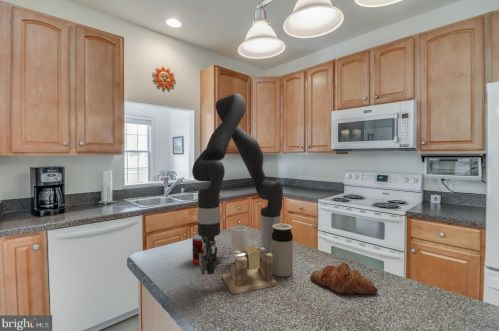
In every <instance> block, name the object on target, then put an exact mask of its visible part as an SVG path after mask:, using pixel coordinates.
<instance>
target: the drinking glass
mask: <svg viewBox="0 0 499 331" xmlns="http://www.w3.org/2000/svg"><path fill="white" fill-rule="evenodd" d="M230 243H231V252H232V251H240V252H241V253H243V247H248V227H247V226H242V225H238V226H237V225H236V226H233V227H231V228H230Z"/></svg>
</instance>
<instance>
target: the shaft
mask: <svg viewBox="0 0 499 331" xmlns="http://www.w3.org/2000/svg"><path fill="white" fill-rule="evenodd" d="M259 251H260V259H265V251H264V250H259ZM240 257H246V258H247V261H248V254H247V253H246V252H245V253H238V254H231V255H230V254H226V255H218V256H217V257H216V263H214V270H216V269H217V267H220V266H226V265H227V266H228V265H230V264H233V263H235V258H240ZM210 259H213V258H210ZM198 269H199V271H200V273H201V274H200V275H203V276H204V275H205V274H206V272H207V256H203V254H202V253H199V265H198Z"/></svg>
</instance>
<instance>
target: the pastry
mask: <svg viewBox="0 0 499 331" xmlns="http://www.w3.org/2000/svg"><path fill="white" fill-rule="evenodd" d="M349 266H350V265H349V264H348V263H347V262H341V263H340V264H339V265H338V266H336V265H326V266H325V267H324V268H322V269H320V270H314V271H313V272H312V273H311V275H310V277H309V279H310V280H311V281H312V283H313V282H314V284H315V283H316V284H317V285H320V286H321V287H324V288H327V289H329V290H331V291H333V292H335V293H336V294H338V295H347V296H349V295H356V294H358V295H372V296H373V295H376V294H377V293H378V288H377V287H376V286H375V285H374V284H375V283H373V281H372V280H370V279H368V278H366V277H364V276H362V274H361V273H360V272H359V271H358V270H356V269H351V268H350V267H349Z"/></svg>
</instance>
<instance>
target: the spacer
mask: <svg viewBox="0 0 499 331" xmlns="http://www.w3.org/2000/svg"><path fill="white" fill-rule="evenodd" d="M245 252H246V253H247V254H248V261H247V270H254V269H259V268H260V251H259V250H258V248H256V247H255V246H254V245H250V246H248V245H247V247H243V253H245Z"/></svg>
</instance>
